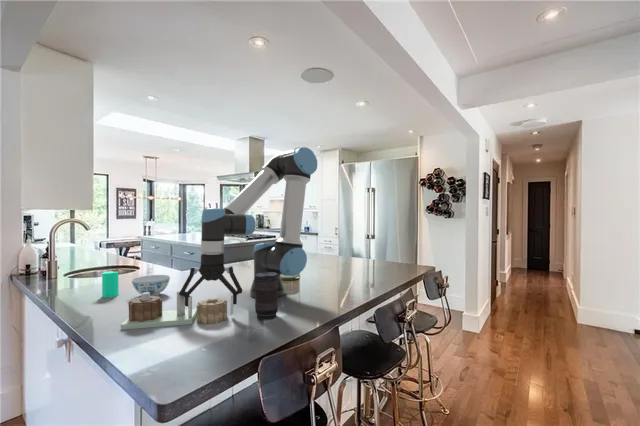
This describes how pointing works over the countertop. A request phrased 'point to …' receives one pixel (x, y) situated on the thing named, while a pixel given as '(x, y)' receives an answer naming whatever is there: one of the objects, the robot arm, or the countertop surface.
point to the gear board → (164, 316)
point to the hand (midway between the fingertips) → (211, 315)
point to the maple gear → (212, 310)
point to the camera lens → (266, 295)
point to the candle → (109, 284)
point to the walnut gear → (145, 309)
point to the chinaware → (151, 284)
